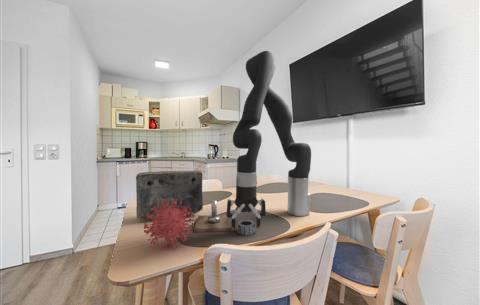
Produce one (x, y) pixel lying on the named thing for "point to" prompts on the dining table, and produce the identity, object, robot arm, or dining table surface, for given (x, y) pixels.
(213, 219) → the post
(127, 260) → the dining table surface
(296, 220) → the dining table surface
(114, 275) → the dining table surface
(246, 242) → the dining table surface
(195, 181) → the concrete block
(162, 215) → the virus model
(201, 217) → the board
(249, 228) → the ring
